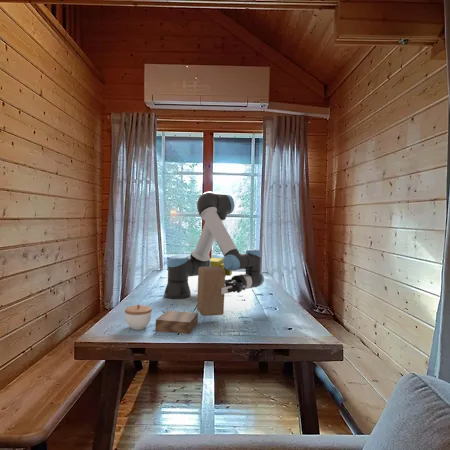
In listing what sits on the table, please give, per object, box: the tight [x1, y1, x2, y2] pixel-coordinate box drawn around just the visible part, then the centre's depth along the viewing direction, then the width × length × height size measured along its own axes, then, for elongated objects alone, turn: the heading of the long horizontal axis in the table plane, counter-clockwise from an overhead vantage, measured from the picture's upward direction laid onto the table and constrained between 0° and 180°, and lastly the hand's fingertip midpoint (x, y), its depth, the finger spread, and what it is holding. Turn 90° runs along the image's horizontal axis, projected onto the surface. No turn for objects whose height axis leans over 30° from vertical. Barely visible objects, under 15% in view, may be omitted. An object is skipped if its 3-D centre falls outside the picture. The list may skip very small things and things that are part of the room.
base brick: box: [154, 310, 199, 335], centre depth 143 cm, size 14×14×5 cm
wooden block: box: [196, 266, 226, 317], centre depth 152 cm, size 10×10×20 cm
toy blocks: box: [210, 257, 233, 278], centre depth 239 cm, size 35×16×16 cm
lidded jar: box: [124, 303, 153, 331], centre depth 141 cm, size 11×11×9 cm
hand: (210, 288), depth 151 cm, fingers closed on wooden block, 13 cm apart
